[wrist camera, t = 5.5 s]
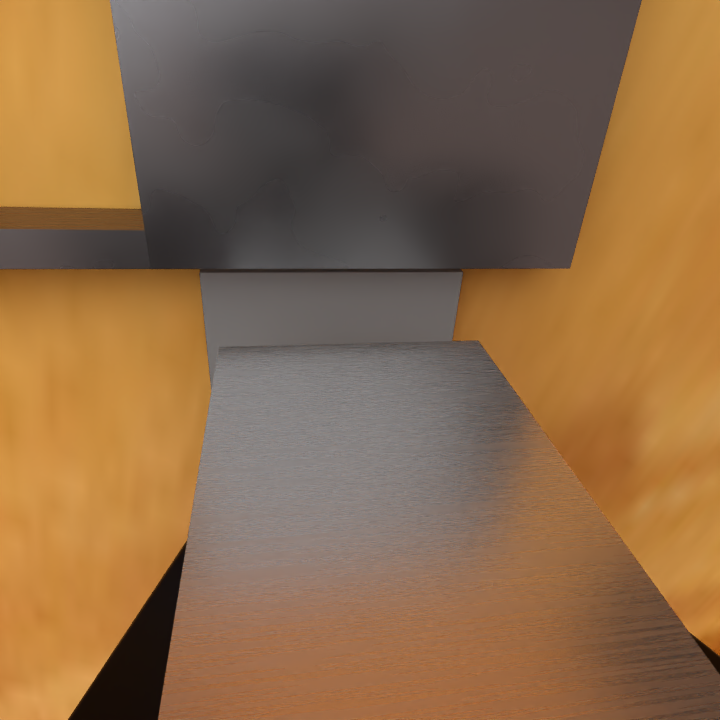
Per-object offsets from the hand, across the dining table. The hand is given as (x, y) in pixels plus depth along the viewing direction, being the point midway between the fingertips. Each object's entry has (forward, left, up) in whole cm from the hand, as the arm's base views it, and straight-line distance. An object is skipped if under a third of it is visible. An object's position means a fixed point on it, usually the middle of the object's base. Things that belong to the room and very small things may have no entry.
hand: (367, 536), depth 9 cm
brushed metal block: (0, 0, -2) cm, 3 cm away
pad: (0, 0, -5) cm, 5 cm away
